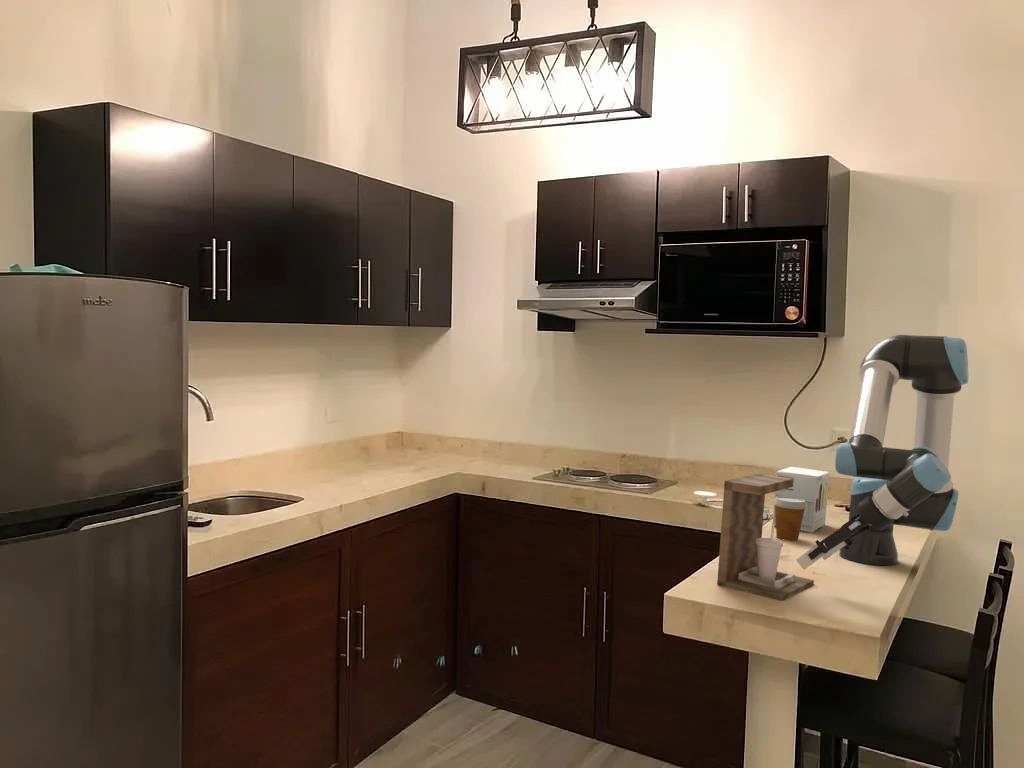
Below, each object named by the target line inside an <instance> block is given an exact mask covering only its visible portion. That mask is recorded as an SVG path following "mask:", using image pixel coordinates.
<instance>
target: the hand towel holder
mask: <svg viewBox="0 0 1024 768" xmlns="http://www.w3.org/2000/svg"><path fill="white" fill-rule="evenodd" d="M693 494H694V495H695V496H699V497H701V498H702V501H701V505H702V506H706V507H707V508H711V509H716V510H723V506H720V505H715V504H710V503H709V502H710V501H712V502H717V501H723V498H715V497H716V496H717V493H716V492H711V491H704V490H703V491H700V490H698V491H693Z"/></svg>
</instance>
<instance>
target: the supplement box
mask: <svg viewBox="0 0 1024 768" xmlns="http://www.w3.org/2000/svg"><path fill="white" fill-rule="evenodd" d="M830 474H831V473H830V471H825V470H819V469H810V468H803V467H796V466H789V467H785V468H782V469H780V470H777V471H776V475H775V476H778V477H785V478H791V479H793V487H790V488H786V489H782V490H779V491H775V492H774V501H775V498H776V497H793V498H799V499H803V500H805V503H806V507H805V509H804V514H803V518H802V523H801V528H800V530H801V531H800V532H806V531H807V533H811V532H812V533H813V532H815V531H816V530H819V529H820V527H821V528H823V527H824V526H826V521H827V519H826V518H827V506H828V493H829V492H828V491H829V484H830V483H829V481H830ZM774 501H773V502H774ZM773 505H774V504H773ZM772 523H774V527H776V517H775V505H774V506H773V515H772ZM818 528H819V529H818Z"/></svg>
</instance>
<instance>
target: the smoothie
mask: <svg viewBox="0 0 1024 768" xmlns="http://www.w3.org/2000/svg"><path fill="white" fill-rule="evenodd" d="M774 532H775V526H774V523H773V522H772V523H771V533H770V534H771V535H770V538H769V537H762V538H758V539H756V544H757V555H758V575H759V577H762V578H766V579H770V580H775V577H776V572H777V571H778V566H779V562H780V556H781V552H782V548H784V542H783V540H781V539H778V538H777V539H775V538H774Z"/></svg>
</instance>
